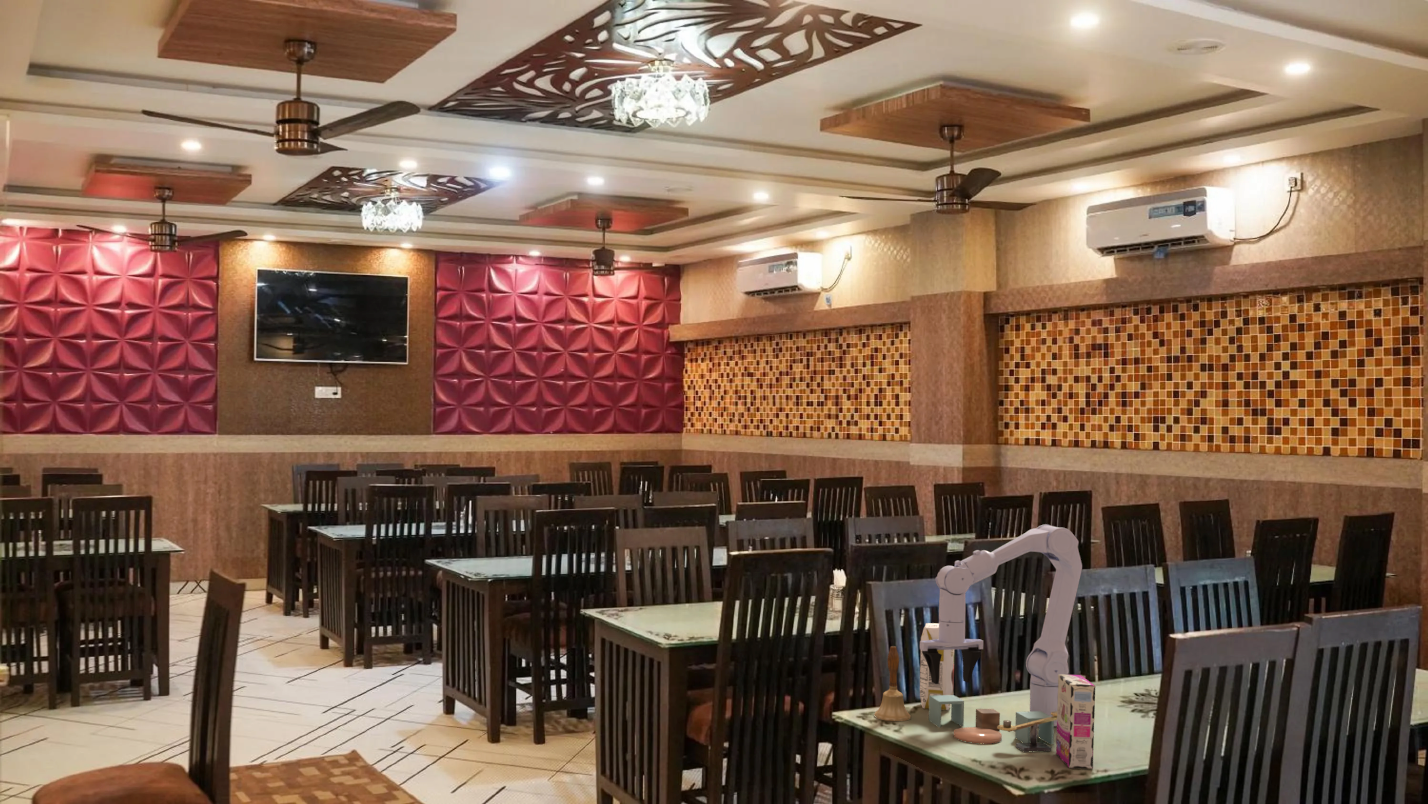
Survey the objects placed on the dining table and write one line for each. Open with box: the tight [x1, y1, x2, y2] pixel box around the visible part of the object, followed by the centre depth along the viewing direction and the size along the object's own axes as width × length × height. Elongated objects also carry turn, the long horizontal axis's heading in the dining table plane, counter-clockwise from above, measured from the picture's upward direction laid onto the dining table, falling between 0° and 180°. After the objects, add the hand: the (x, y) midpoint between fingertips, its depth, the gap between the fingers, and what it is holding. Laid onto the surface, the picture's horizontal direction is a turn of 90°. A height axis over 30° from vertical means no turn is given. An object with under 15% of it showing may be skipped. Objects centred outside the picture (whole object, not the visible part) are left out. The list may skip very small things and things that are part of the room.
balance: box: [997, 711, 1057, 753], centre depth 258 cm, size 16×4×7 cm, turn 101°
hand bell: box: [873, 645, 912, 722], centre depth 284 cm, size 8×8×16 cm
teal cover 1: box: [928, 694, 965, 728], centre depth 279 cm, size 6×6×6 cm
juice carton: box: [919, 622, 955, 711], centre depth 295 cm, size 8×9×19 cm
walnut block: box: [975, 708, 1001, 732], centre depth 275 cm, size 4×4×4 cm
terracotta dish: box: [953, 726, 1003, 745], centre depth 266 cm, size 10×10×1 cm
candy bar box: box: [1055, 673, 1096, 770], centre depth 249 cm, size 11×5×16 cm, turn 178°
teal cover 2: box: [1014, 711, 1055, 745], centre depth 265 cm, size 6×6×6 cm
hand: (950, 682), depth 278 cm, fingers open, 7 cm apart
